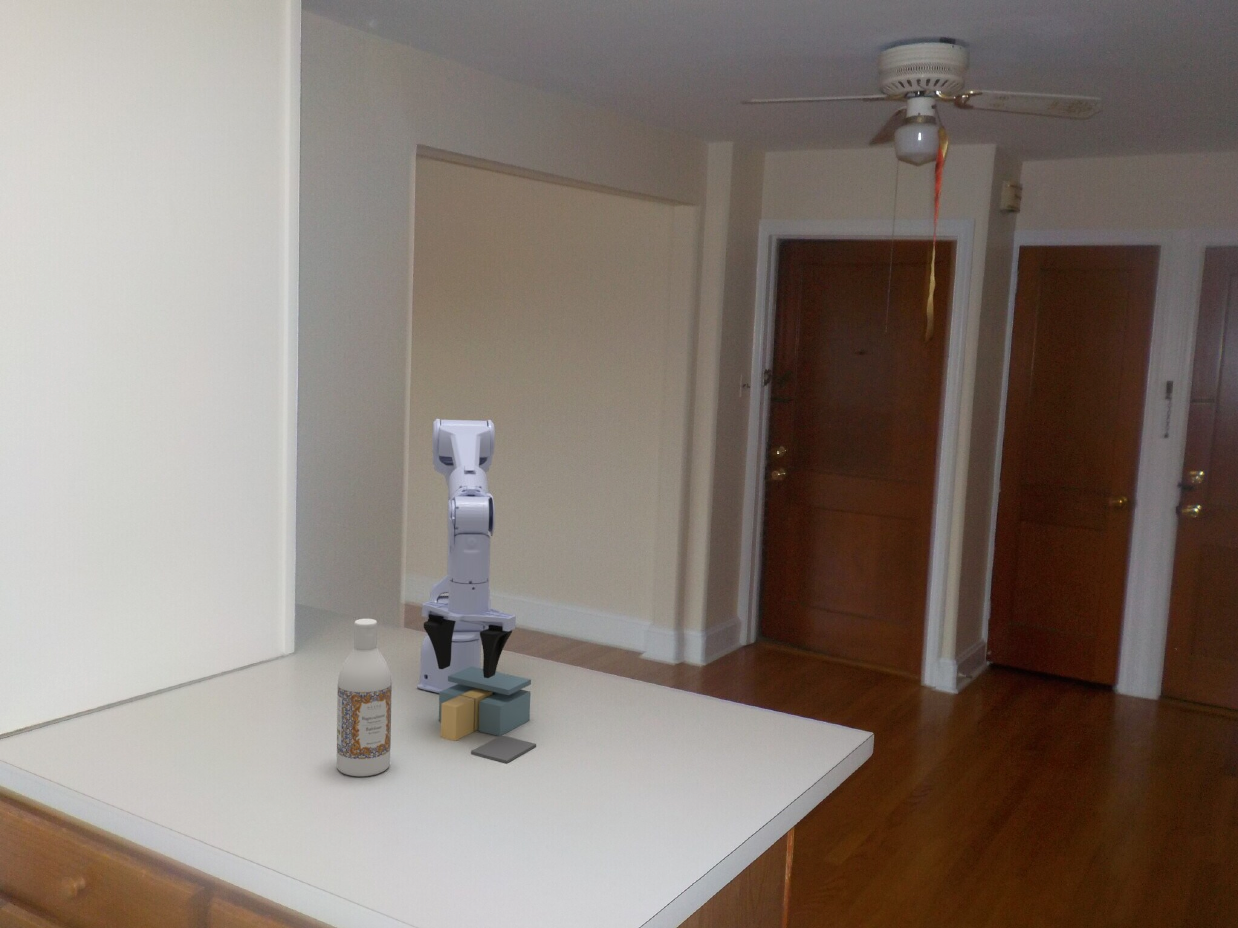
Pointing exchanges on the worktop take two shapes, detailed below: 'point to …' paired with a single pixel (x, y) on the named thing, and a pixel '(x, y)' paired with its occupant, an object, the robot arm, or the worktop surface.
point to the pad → (503, 749)
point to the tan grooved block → (462, 714)
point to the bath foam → (364, 706)
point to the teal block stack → (493, 699)
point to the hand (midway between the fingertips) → (466, 671)
